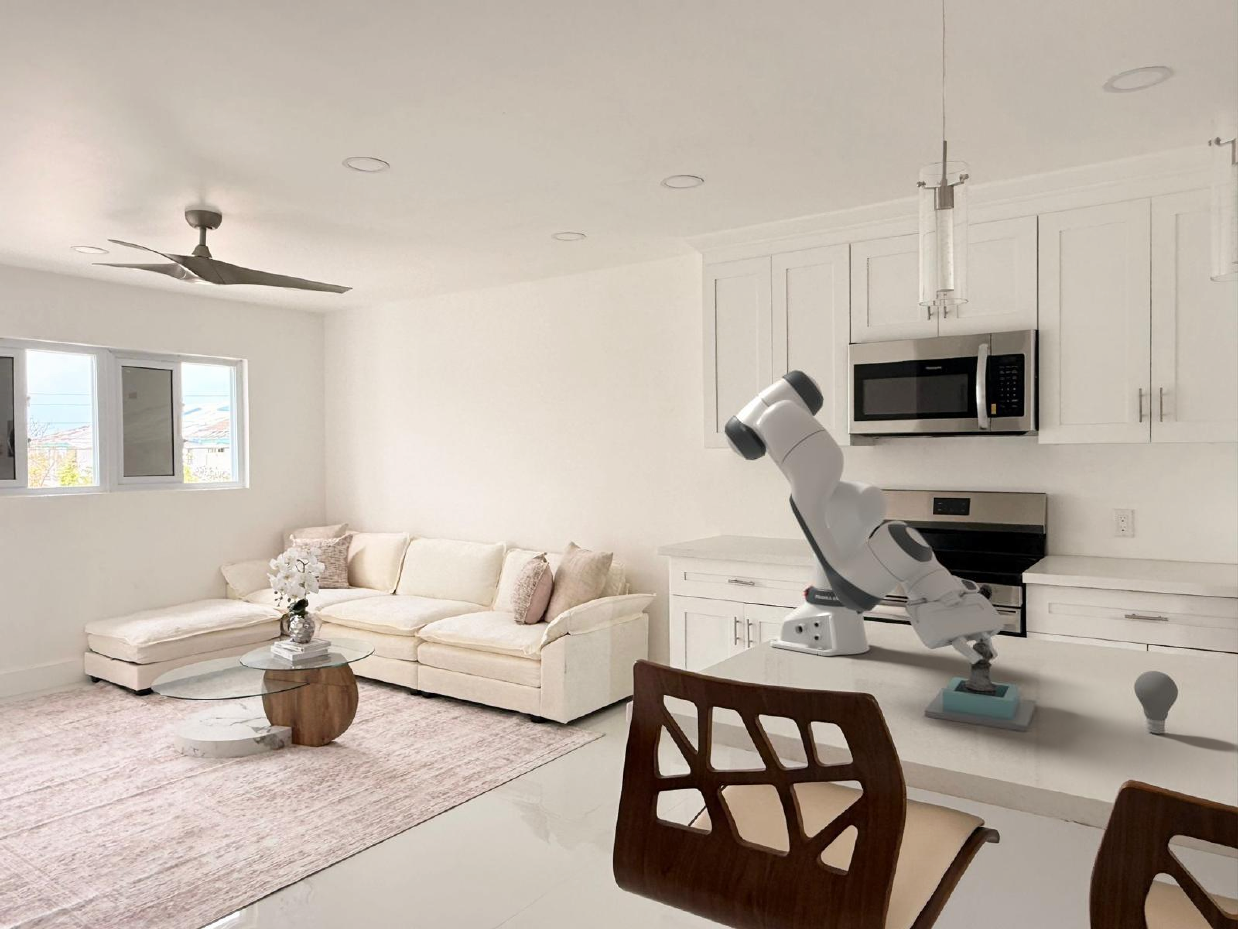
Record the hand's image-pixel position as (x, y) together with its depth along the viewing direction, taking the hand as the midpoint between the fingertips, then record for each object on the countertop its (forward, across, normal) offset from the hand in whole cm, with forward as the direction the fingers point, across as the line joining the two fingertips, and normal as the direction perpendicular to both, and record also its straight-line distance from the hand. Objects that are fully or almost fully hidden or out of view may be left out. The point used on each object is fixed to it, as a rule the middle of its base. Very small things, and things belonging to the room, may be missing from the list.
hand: (985, 660), depth 149 cm
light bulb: (+22, +13, -9) cm, 27 cm away
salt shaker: (+5, 0, +7) cm, 9 cm away
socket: (+6, 0, +7) cm, 9 cm away
